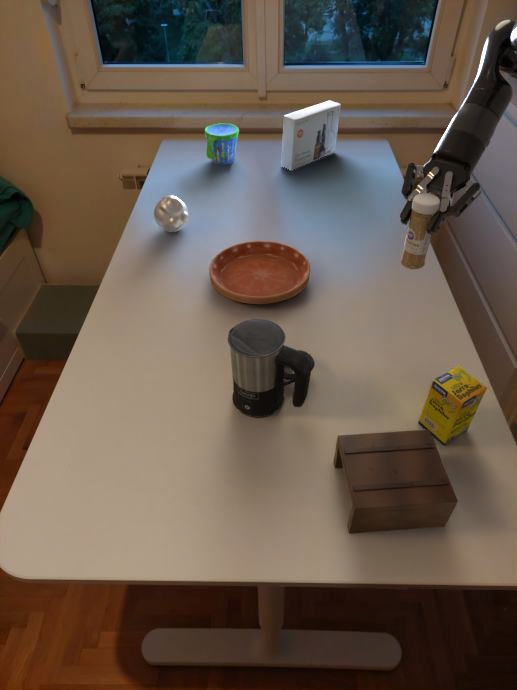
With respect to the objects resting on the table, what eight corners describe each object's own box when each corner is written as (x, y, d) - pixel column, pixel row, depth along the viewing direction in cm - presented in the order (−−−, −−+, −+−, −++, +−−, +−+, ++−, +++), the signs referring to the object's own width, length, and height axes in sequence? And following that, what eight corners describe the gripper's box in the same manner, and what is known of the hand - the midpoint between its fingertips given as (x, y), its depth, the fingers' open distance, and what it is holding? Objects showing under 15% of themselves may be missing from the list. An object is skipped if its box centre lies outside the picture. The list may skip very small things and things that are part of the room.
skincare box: (292, 172, 157) (294, 119, 147) (280, 166, 160) (281, 115, 150) (336, 153, 168) (341, 103, 157) (324, 148, 171) (328, 99, 160)
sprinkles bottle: (395, 263, 96) (408, 198, 87) (409, 254, 98) (423, 189, 89) (415, 273, 94) (431, 207, 84) (429, 263, 96) (446, 198, 87)
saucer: (189, 280, 116) (188, 267, 113) (259, 242, 128) (259, 229, 125) (260, 325, 104) (260, 311, 101) (329, 279, 116) (331, 265, 113)
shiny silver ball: (154, 240, 129) (148, 204, 122) (158, 221, 136) (153, 186, 129) (189, 239, 129) (185, 203, 122) (192, 220, 136) (188, 185, 129)
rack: (419, 456, 80) (429, 428, 75) (445, 526, 72) (458, 500, 67) (333, 461, 80) (337, 434, 75) (348, 534, 71) (354, 508, 66)
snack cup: (221, 173, 157) (219, 140, 150) (195, 165, 162) (192, 133, 155) (250, 156, 167) (249, 124, 160) (225, 149, 171) (223, 118, 164)
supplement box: (444, 447, 82) (462, 404, 74) (416, 423, 85) (431, 379, 78) (468, 431, 84) (488, 387, 76) (441, 408, 88) (457, 364, 80)
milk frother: (227, 415, 87) (222, 353, 77) (241, 352, 98) (239, 291, 88) (309, 423, 85) (315, 362, 75) (314, 359, 97) (320, 298, 87)
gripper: (423, 118, 88) (375, 207, 90) (504, 138, 80) (449, 234, 82) (432, 140, 94) (387, 222, 96) (507, 160, 87) (456, 249, 89)
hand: (416, 227), depth 89 cm, fingers closed on sprinkles bottle, 4 cm apart
